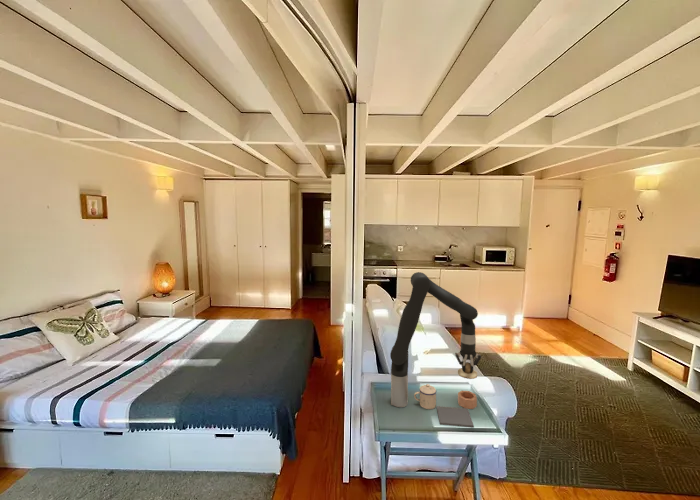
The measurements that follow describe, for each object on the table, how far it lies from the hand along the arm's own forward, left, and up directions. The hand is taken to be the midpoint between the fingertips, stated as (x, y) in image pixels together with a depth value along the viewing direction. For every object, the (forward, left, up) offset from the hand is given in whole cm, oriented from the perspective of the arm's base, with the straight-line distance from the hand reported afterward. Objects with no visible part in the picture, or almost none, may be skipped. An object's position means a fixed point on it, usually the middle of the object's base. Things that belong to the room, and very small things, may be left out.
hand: (467, 371), depth 168 cm
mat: (-9, -13, -19) cm, 24 cm away
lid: (0, 0, -2) cm, 2 cm away
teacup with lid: (-23, -4, -19) cm, 30 cm away
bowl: (0, 0, -19) cm, 19 cm away
